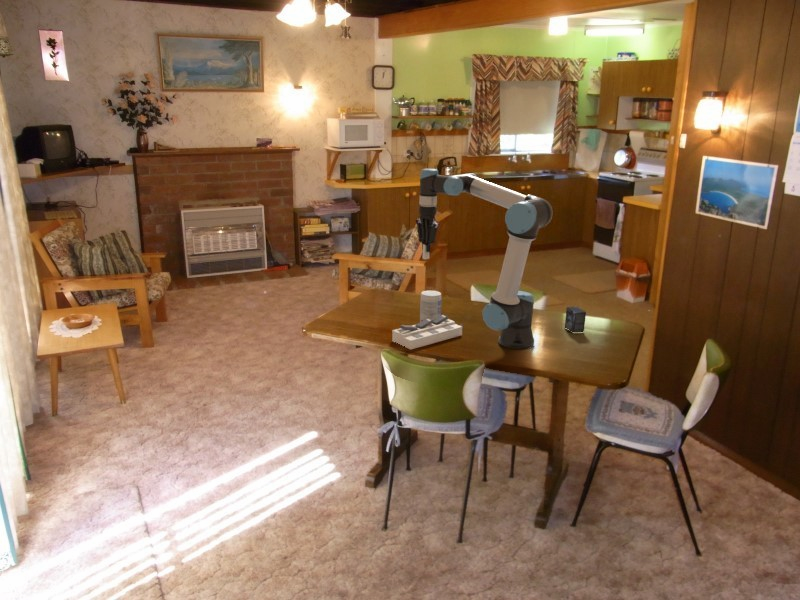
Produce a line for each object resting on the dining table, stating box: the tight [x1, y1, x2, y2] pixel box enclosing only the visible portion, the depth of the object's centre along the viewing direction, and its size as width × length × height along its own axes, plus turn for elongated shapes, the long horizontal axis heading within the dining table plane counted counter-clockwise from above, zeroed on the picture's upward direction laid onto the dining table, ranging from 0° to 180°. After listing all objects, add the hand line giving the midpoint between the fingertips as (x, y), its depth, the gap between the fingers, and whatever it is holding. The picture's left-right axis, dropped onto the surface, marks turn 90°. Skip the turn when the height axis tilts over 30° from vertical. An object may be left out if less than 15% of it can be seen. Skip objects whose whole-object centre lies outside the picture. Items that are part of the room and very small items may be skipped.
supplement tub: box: [419, 290, 442, 323], centre depth 318 cm, size 10×10×15 cm
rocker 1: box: [399, 324, 417, 331], centre depth 295 cm, size 3×7×2 cm, turn 130°
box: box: [564, 306, 587, 332], centre depth 314 cm, size 8×6×11 cm
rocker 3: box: [433, 314, 449, 325], centre depth 307 cm, size 3×7×2 cm, turn 130°
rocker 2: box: [415, 318, 433, 329], centre depth 301 cm, size 3×7×2 cm, turn 130°
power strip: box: [391, 318, 464, 350], centre depth 302 cm, size 12×36×5 cm, turn 130°
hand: (425, 258), depth 304 cm, fingers closed
